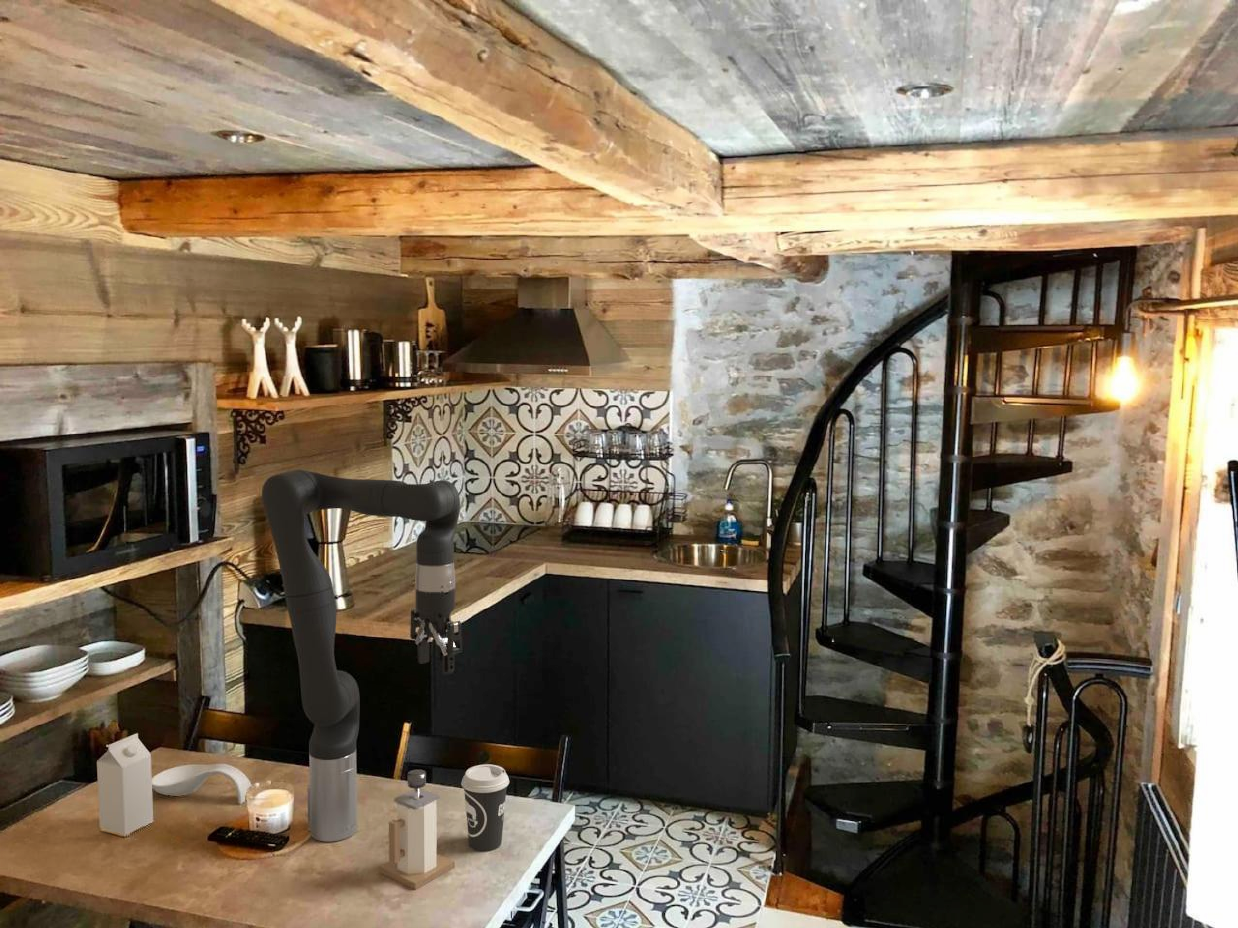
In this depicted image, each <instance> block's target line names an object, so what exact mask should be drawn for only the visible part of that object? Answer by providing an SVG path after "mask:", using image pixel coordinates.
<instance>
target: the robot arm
mask: <svg viewBox="0 0 1238 928" xmlns="http://www.w3.org/2000/svg"><path fill="white" fill-rule="evenodd" d="M261 501H262V507H263V511H264V514H265V517H266V520H267V524H268V527H269V530H270V534H271V537H272V541H273V544H274V547H275V551H276V555H277V556H276V557H277V559H278V564H279V565H278V566H279V570H280V573H281V578H282V579H281V580H282V584H283V591H284V597H285V602H286V607H287V612H288V615H289V617H288V618H289V621H290V624H291V625H290V626H291V631H292V636H293V642H294V647H295V650H296V657H297V662H298V668H299V680H300V681H299V682H300V692H301V693H300V695H301V703H302V708H303V711H304V713H305V716H306V717H307V719H309V721H310V722H312V723H313V724H314V727H313V730H312V734H311V735H310V738H309V742H308V753H309V754H308V756H309V758H308V759H309V761H308V762H309V785H308V786H307V788H306V789H307V790H306V791H307V827H308V828H307V830H308V829H310V830H311V831H310V835H311V837H312V838H313V839H314V840H317V841H319V842H337V841H338V842H339V841H342V840H345V839H348V838H350V837H352V836H353V835H354V834H355V833H356V832H357V831H358V795H357V794H358V792H357V791H358V787H357V784H358V783H357V782H358V781H357V780H358V779H357V777H358V776H357V739H358V736H359V730H360V708H361V707H360V704H361V703H360V702H361V701H360V690H359V685H358V682H357V681H356V679H355V678H354V677H353V676H352V675H351V673H348V672H347V671H344V670H338V669H337V665H336V660H335V638H336V628H337V615H338V614H337V603H336V597H335V593H334V586H333V582H332V578H331V576H330V573H329V571H328V570H327V568H326V567H325V565H324V564H323V562H322V561H321V560H320V558H319V557H318V556H317V554H316V553H315V552H314V551H313V549H312V547H311V545H310V543H309V541H308V538H307V533H306V530H305V525H304V524H305V523H304V519H303V518H304V517H303V516H306V515H308V514H311V513H312V512H317V511H323V510H330V509H331V510H332V509H341V510H347V511H348V510H349V511H352V512H353V513H354V512H355V513H357V514H361V515H365V516H374V517H392V518H394V517H395V518H397V517H399V518H402V519H407V520H411V521H417V522H425V527H424V529H423V530H422V531H421V532H420V533H419V534H418V536H417V538H416V547H415V548H416V567H415V578H414V579H415V582H414V583H415V592H414V593H415V596H414V597H415V609H411V611H410V629H409V630H410V631H409V633H410V635H409V637H410V639H411V640H414V641H415V644H416V645H417V663H418V664H421V665H423V664H427V663H429V662H430V640H431V638H432V640H435V642H436V645H437V646H439V647H440V650H441V652H442V654H443V655H442V657H441V658H442V661H441V662H442V664H441V665H442V667H441V668H442V674H443V675H445V676H446V675H449V674H453V673H454V672H455V669H456V668H455V659H456V658H455V656H456V654H459V653H462V652H463V632H462V622H461V621H460V620H458V621H452V619H451V613H452V611H455V609H456V569H455V563H454V562H455V557H454V556H455V553H454V552H455V549H454V548H455V545H454V541H455V540H454V539H455V535H456V532H457V526H458V522H459V517H460V512H461V511H460V510H461V498H460V494H459V492H458V489H457V487H456V486H455V484H453V483H452V482H450V481H447V480H442V479H441V480H436V481H432V482H427V483H420V484H419V483H416V484H415V483H407V482H405V481H401V480H393V479H390V480H389V479H367V478H366V479H364V478H363V479H358V478H346V477H345V478H344V477H338V476H332V475H327V474H323V473H319V472H315V471H310V470H305V469H294V470H289V471H286V472H282V473H277V474H274V475H272V476H270V477H268V478H267V479H266V480H265V481H264V483H263V485H262V489H261ZM417 628H418V630H417ZM455 642H456V644H455ZM446 644H447V645H446Z"/></svg>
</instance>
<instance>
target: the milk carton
mask: <svg viewBox="0 0 1238 928" xmlns="http://www.w3.org/2000/svg"><path fill="white" fill-rule="evenodd" d="M107 747H108V750H107V751H106V752H105V753H104V754H103V755H102V756H101V757H100V758H99V759H98V760H97V761H96V771H97V773H96V774H97V791H98V793H97V794H98V818H99V819H98V820H99V829H100V828H101V829H105V830H108V831H112V832H116V833H120V834H123V835H126V834H129V833H130V832H132V831H134V830H136V829H138V828H140V827H142V826H146V825H148V824H149V823H152V822H153V823H154V809H153V808H154V805H153V804H154V803H153V801H154V800H153V788H152V778H153V776H152V755H151V753H150V751H149V750H148V749H147V748H146V746H145V745H144V744H143V742H142V741H141V740H140V738H139V733H138V732H137V733H133V734H132V735H129V736H127V737H124V738H121V739H120V740H117V741H114V742H113V743H110V744H108V745H107ZM153 823H152V824H153ZM148 826H149V825H148ZM146 827H147V826H146Z"/></svg>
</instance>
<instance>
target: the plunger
mask: <svg viewBox="0 0 1238 928" xmlns="http://www.w3.org/2000/svg"><path fill="white" fill-rule="evenodd" d="M426 785H427V773H426V770H423V769H412V770H410V771H408V772H407V787H408V788H411V789H413V790H414V799H415V800H418V799H420V793H419V788H421V789H422V788H424V787H426Z"/></svg>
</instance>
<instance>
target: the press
mask: <svg viewBox="0 0 1238 928" xmlns="http://www.w3.org/2000/svg"><path fill="white" fill-rule="evenodd" d="M419 793H420V799H418V800H415V799H414V789H412V790H409V791H407V792H405V793H402V794H401V795H399V796H397V797H395V798H394V799H393V801H394V802H395V803H396V820H395V819H391V820H389V821H388V859H389V861H388V862H385V863H384V864H382V865H380V866H379V873H380V874H382V875H384V876H386V877H389V878H390V879H392V880H394V881H397V882H399V883H401V884H403V885H405V886H407V887H409V888H411V889H413V890H418V889H419V888H421V887H423V886H424V885H425V886H426V884H429V883H430V882H432V881H433V880H435V879H437V878H440V877H441V876H442V875H444V874H446V873H448V872H450V871H451V870H453V869H455V868H456V867H455V866H456V863H455V861H454V860H452V859H450V858H447V857H445V856H444V855H443V856H442V855H441V854H438V853H437V842H438V841H437V835H438V834H437V833H438V832H437V829H438V828H437V800H439V799H440V795H438V794H436V793H434V792H431V791H428V790H427V789H426V790H425V789H424V788H422V787H421V788H419Z"/></svg>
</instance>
